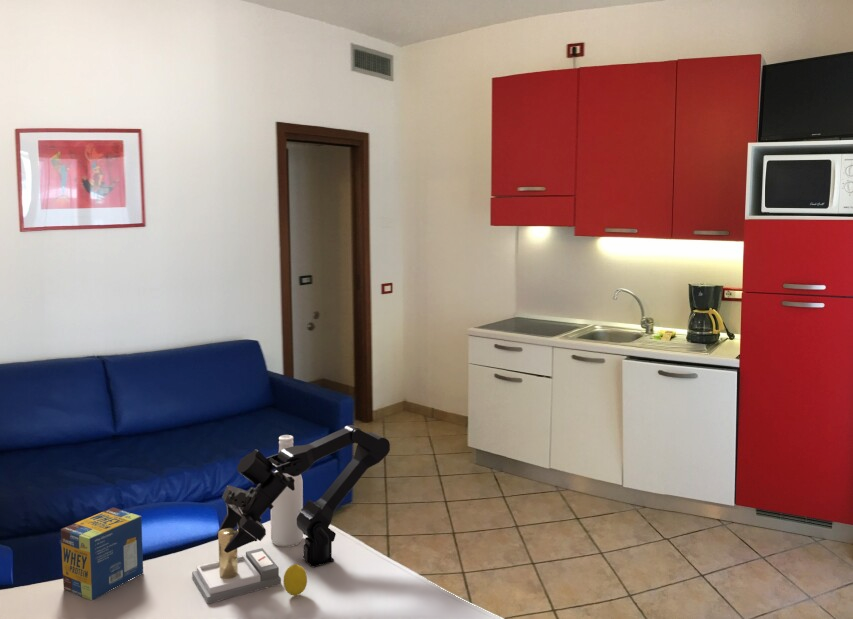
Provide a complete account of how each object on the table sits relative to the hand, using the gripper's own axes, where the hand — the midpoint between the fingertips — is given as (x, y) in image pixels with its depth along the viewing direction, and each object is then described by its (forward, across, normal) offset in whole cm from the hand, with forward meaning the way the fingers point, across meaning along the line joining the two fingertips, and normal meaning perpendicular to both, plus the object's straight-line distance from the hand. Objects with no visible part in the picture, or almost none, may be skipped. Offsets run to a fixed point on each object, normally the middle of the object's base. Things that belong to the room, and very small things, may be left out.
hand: (221, 543), depth 176 cm
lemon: (-3, +13, +18) cm, 22 cm away
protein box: (+26, -14, -11) cm, 31 cm away
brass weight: (+5, 0, +7) cm, 8 cm away
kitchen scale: (+5, 0, +10) cm, 11 cm away
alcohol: (-7, -17, +22) cm, 29 cm away
